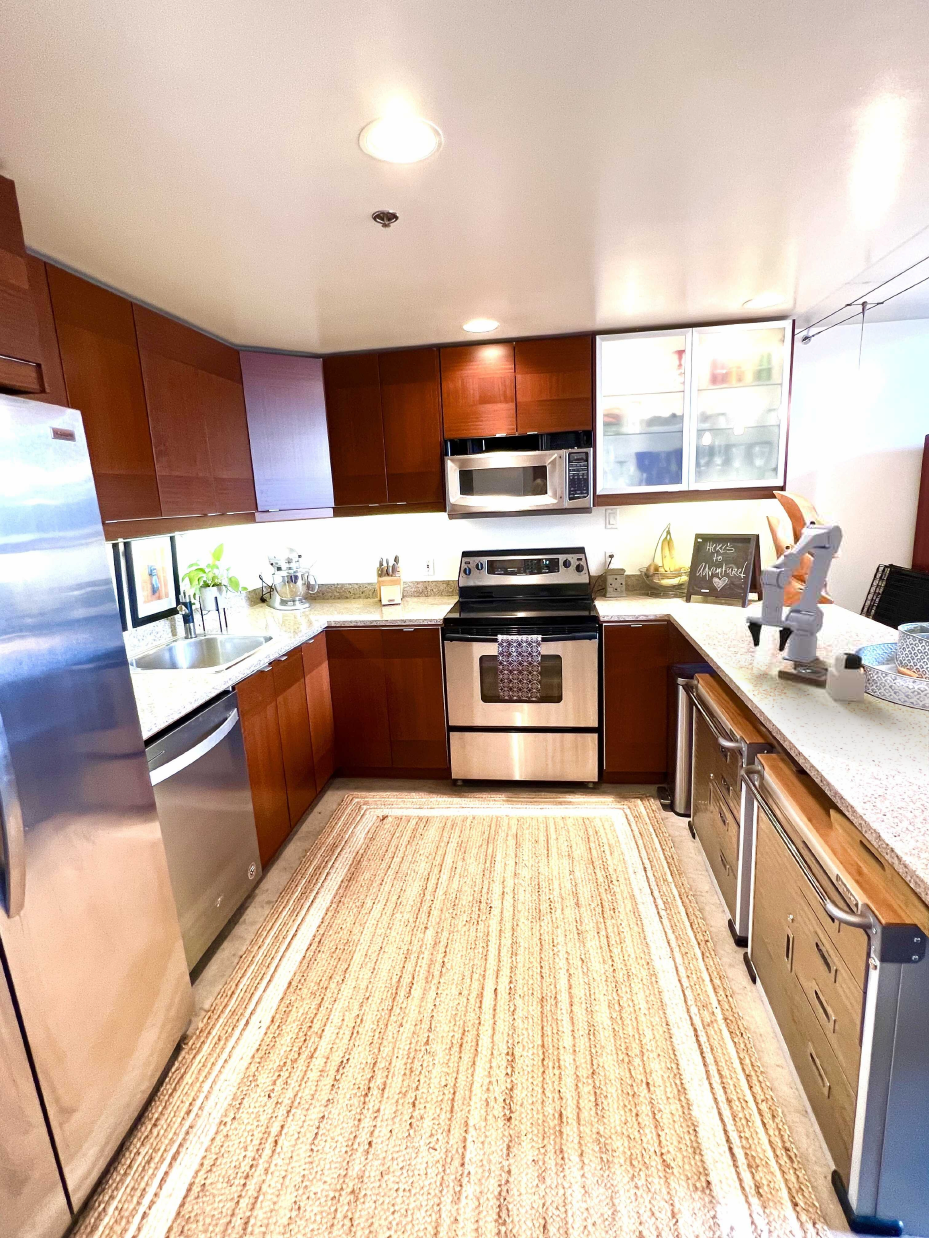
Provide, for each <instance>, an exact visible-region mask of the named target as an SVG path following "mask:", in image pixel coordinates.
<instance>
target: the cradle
mask: <svg viewBox="0 0 929 1238" xmlns="http://www.w3.org/2000/svg"><path fill="white" fill-rule="evenodd" d="M799 667H815V668H820V669H823V670H825V671H827V672H828V668H829V667H828V668H827V667H823V666H818V665H814V664H813V665H812V664H810V663H804V662H799V661H794V662H793V670H797V668H799ZM777 677H778V678H780V679H785V680H790V681H795V682H799V683H802V684H807V685H813V686H816V687H821V688H823V687H825V686H826V682H827V674H826V675H825V676H823V677H821V678H816V677H811V676H807V675H802V674H797V673H796V672H792V671H789V670H788V671H787V670H782V669H779V670H778V672H777Z"/></svg>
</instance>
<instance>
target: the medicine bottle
mask: <svg viewBox="0 0 929 1238" xmlns="http://www.w3.org/2000/svg"><path fill="white" fill-rule="evenodd" d="M862 662H863V658H862V657H861V656H860V655H858V654H856V653H851V652H840V653H836V655H835V658H834V664H833V665H834V666H833V667H828V674H827V682H826V685H825V692H826V694H828V695H829V696H830V697H831V699H832V700H834V701H844V702H847V701H848V702H864V699H865V691H866V690H865V689H866V685H867V684H866V683H867V676H866V675H864V674H863V673H862V672H861V670H862Z"/></svg>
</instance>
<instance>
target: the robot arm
mask: <svg viewBox="0 0 929 1238" xmlns="http://www.w3.org/2000/svg"><path fill="white" fill-rule="evenodd" d="M842 540H843V530H842V528H841V527H840V525H825V524H811V523H808V524H806V525H805V526H804V528H802V530H801V535H800V539H799V540H798V542H797V543H796V544H795V546H793V548H792V550H790V551H786V552H784V553H783V554H782V555H781V556H780V557H779V558H778V559H777V561H775V562H774V564H773V565H772V566H771V567H766V568H765V569H763V570H762V572H761V574H760V576H759V581H760V584H761V588H760V589H761V591H762V601H761V603H762V604H761V613H760V614H761V615H760V616H751V615H750V616H746V619H745V620H746V621H745V623H746V624H748V625H747V629H748V630H749V632H750V635H751V638H752V642H753V647H756V648H757V647H760V646H759V645H760V643H761V642H760V639H761V633H762V632H761V631H762V627H763V626H766V627H773V628H779V630H778V635H779V642H778V643H779V644H778V652H784V651H785V648H786V646H787V654H785V655H783V656H781V658H782V659H784V660H785V659H786V660H790V661H794V662H799V663H804V664H810V663H811V662H812V661H813V662H814V660H816V659H818V658H819V657H820V656H819V655H817V647H818V636H817V634H818V633H819V632H820V631H821V630H822V628H823V626H824V625H823V624H824V623H823V622H824V620H823V619H824V616H825V613H824V612H823V610H822V609H821V608H820V607H819V606H818V604H819V601H820V599H821V595H822V591H823V588H824V585H825V583H826V579H827V576H828V572H829V570H830V567H831V563H832V560H833V557H834V555H835V554H838V552H839V548H840V546H841V543H842ZM808 552H811V553H812V554H813V559H812V562H811V565H810V568H809V571H808V574H807V578H806V581H805V584H804V587H803V589H802V593H801V596H800V598H799V601H798V602H797V603H794V604H791V606H790V607H789V609H788V611H787V613H786V614H785V616H784V619H783V609H784V607H783V606H784V597H785V588H786V587H787V586H788V585H789V583H790V580H791V578H792V576H793V573H794V572H795V571H796V570H797V568H799V566H801V563H802V558H803V557H804V556H805V555H806V554H807V553H808ZM787 642H788V643H787ZM787 644H788V645H787Z"/></svg>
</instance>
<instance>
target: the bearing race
mask: <svg viewBox="0 0 929 1238" xmlns="http://www.w3.org/2000/svg"><path fill="white" fill-rule="evenodd" d="M795 673H797V674H802V675H807V676H811V677H816V678H821V677H823V676H825V675H826V674H828V672H827V671H825V670H823V669H820V668H815V667H799V668H797V669H796V672H795Z"/></svg>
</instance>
